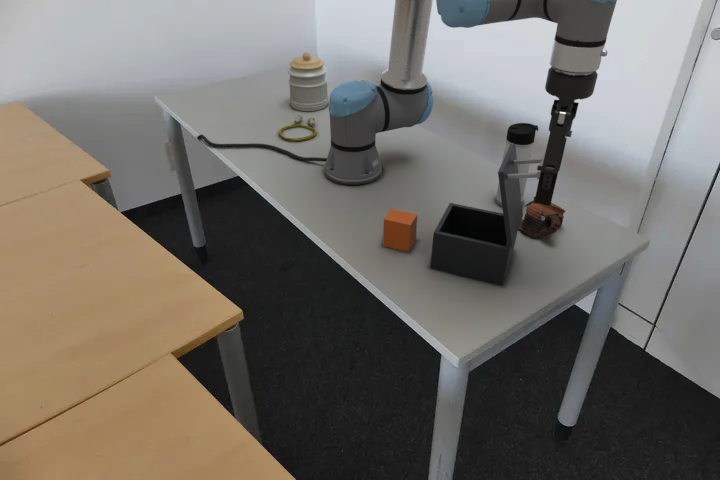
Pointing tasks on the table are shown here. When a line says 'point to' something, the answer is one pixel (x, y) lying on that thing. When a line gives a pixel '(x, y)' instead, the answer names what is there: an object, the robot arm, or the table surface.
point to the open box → (472, 244)
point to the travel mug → (520, 150)
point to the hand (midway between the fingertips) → (547, 185)
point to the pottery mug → (536, 225)
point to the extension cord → (298, 120)
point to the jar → (308, 83)
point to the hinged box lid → (513, 191)
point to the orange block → (399, 230)
